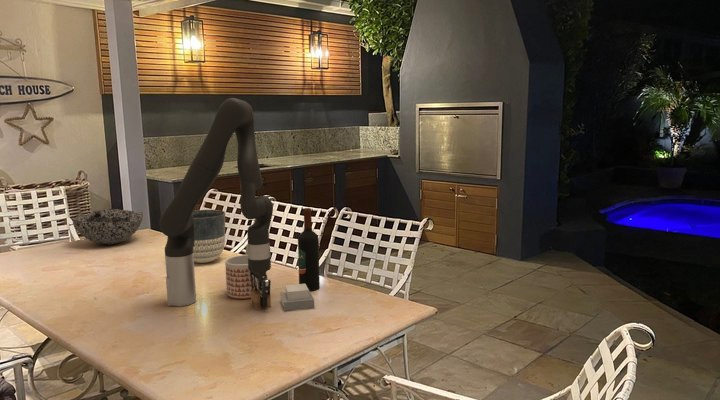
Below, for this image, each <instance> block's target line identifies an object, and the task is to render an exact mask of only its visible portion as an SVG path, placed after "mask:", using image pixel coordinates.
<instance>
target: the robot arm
mask: <svg viewBox="0 0 720 400" xmlns="http://www.w3.org/2000/svg"><path fill="white" fill-rule="evenodd" d="M254 119H255V117H254V111H253V108H252V106H251V104H249V103H248V102H247V101H245V100H242V99H239V98H237V97H236V98H235V97H230V98H227V99H225V100H224V101H223V102H222V103H221V104H220V106H219V107H218V110H217V112H216V114H215V116H214V119H213V122H212V124H211V125H210V126H211V127H210V129H209V130H208V133H207V135H206V136H205V138H204V140H203V142H202V144H201V145H200V146H199V147H200V148H199V149H198V151H197V153H196V154H195V157H194V158H193V160H192V161H191V163H190V165H189V167H188V169H187V170H186V174H185V176H184V177H183V180H182V181H181V184H180V186H179V188H178V190H177V192H176V194H175V195H174V197H173V199H172V200H171V202H170V203H169V205H168V206H167V208H166V209H165V210H164V212H163V213H162V215H161V216H160V219H159V227H160V228H159V229H160V231H161V233H162V234H163V235H164V236H166V237H167V241H166V244H165V247H164V258H165V259H164V260H165V273H166V278H165V284H166V285H165V286H166V299H167V306H168V307H169V306H171V307H172V306H173V307H185V306H189V305H192V304H194V303H195V302H196V301H197V290H196V278H195V276H196V274H195V273H196V272H195V262H194V256H193V246H194V219H193V215H192V212H193V211H195V208H196V206H197V204H198V203H199V202H200V200H201V199H202V198H203V197H204V196H205V194H206V193H207V192H208V191H209V189H210V188H211V186H213V184H214V183H215V181H216V179H217V178H218V177H219V174H220V172H221V170H222V169H223V166H224V163H225V157H226V152H227V147H228V144H229V141H230V139H231V138H232V137H233V134H234V133H235V137H236V144H237V155H236V157H237V160H236V161H237V162H236V163H237V172H238V176H239V181H240V187H241V188H240V206H239V207H240V211H241V214H242V215H243V217H244V218H245V219H246V220H255V222H254V223H252V224H251V225H249V226H248V227H247V229H246V230H247V231H246V232H247V233H246V235H247V249H246V251H247V255H248V270H249V271H250V277H251V286H252V289H253V291H256V290H259V292H260V304H261V307H262V308H264V307H267V296H270V297H271V283H272V282H271V279H269V278H268V277H269V276H268V275H267V272H268V271H270V270H271V268H272V259H271V256H272V255H271V246H270V233H269V230H270V226H271V224H272V223H271V221H272V218H273V213H274V212H273V211H274V205H273V203H272V200H271V199H270V197H269V196H268V195H259V196H256V194H257V193H256V191H257V190H258V189H260V188H262V187H263V185H264V184H263V183H264V182H263V176H262V173H261V168H260V163H259V158H258V152H257V146H256V135H255V120H254ZM264 292H265V293H264ZM264 309H265V308H264Z"/></svg>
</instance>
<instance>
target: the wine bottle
mask: <svg viewBox="0 0 720 400" xmlns="http://www.w3.org/2000/svg"><path fill="white" fill-rule="evenodd" d="M312 223H313V221H312V208H310V207H306V208H303V231H301V233H299V235H298V236H297V254H298V255H297V256H298V257H297V258H298V284H306V286H307V288H308V289H309V291H310V292H315V291H317V290H319V289H320V250H319V249H320V248H319V247H320V246H319V245H320V240H319V238H320V237H319V236H318V233H316V232H315V231H314V230H313V228H312V227H313V226H312V225H313V224H312Z"/></svg>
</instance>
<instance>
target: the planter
mask: <svg viewBox="0 0 720 400" xmlns="http://www.w3.org/2000/svg"><path fill="white" fill-rule="evenodd" d="M192 215H193V219H194V246H193V256H194V263H198V264H207V263H211V262H213V261H216V260H217V259H218V258H219V257H220V256H221V254H222V253H223V251H224V248H225V245H226V212H225V211H224V210H220V209H197V210H195V209H194V210H193V212H192Z"/></svg>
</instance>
